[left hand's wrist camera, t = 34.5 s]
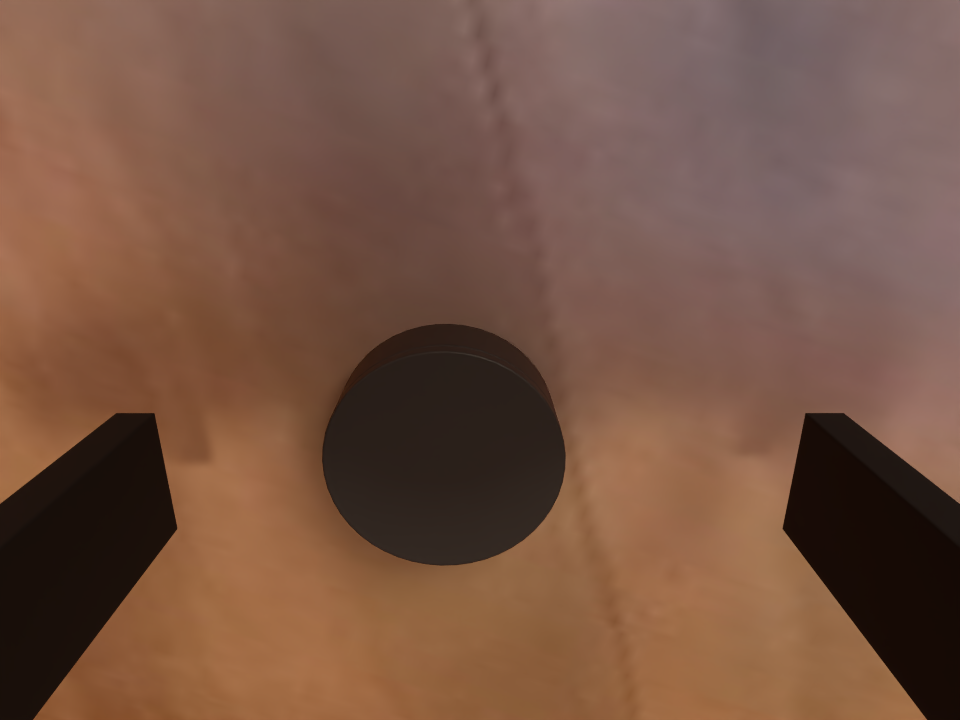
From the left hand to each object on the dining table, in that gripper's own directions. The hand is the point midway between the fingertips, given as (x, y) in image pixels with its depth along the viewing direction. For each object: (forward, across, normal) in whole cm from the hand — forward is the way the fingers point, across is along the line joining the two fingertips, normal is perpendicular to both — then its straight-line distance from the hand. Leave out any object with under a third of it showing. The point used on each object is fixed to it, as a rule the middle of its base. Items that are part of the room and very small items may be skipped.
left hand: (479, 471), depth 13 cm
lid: (+1, +1, 0) cm, 1 cm away
